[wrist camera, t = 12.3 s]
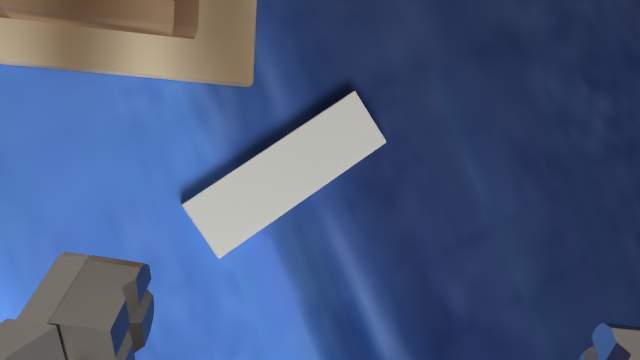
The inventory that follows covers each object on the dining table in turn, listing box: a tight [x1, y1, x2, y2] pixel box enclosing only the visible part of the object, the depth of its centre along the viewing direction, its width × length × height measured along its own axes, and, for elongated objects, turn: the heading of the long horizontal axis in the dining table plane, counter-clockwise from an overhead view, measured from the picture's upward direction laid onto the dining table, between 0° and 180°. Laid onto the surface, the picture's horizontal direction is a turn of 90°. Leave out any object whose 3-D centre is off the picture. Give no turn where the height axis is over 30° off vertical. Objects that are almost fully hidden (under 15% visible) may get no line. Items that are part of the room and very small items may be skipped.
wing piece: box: [181, 91, 386, 258], centre depth 29 cm, size 10×3×1 cm, turn 124°
